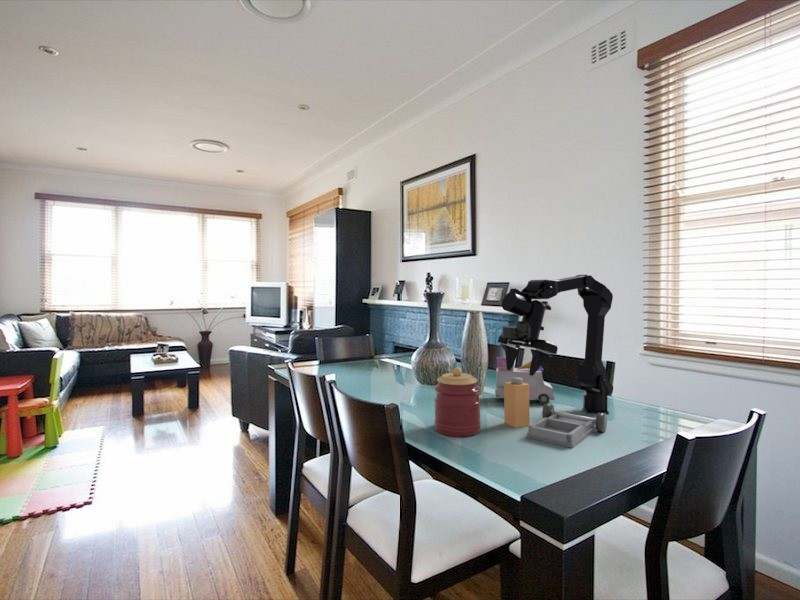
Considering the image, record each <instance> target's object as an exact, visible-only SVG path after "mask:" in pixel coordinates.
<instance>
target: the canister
mask: <svg viewBox="0 0 800 600" xmlns="http://www.w3.org/2000/svg"><path fill="white" fill-rule="evenodd" d="M436 380H437V382H438V383H437V384H436V385H435V386H434V388H433V390H434V391H435V397H434V399H433V401H434V421H433V422H434V428H435V431H436V432H437V433H439V434H442V435H443V436H450V437H456V438H457V437H470V436H474V435H477V434H478V433H480V431H481V425H482V424H481V423H482V422H481V401H482V400H481V399H480V392H481V390H482V388H481V387H480V386H479V385H477V383H478V378H476V377H474V376H473V374H470V373H465V372H463V371H462V368H461V367H459V366H457V367H454V368H453V369H452V372H449V373H448V372H447V373H443V374H442V375H441V376H439V377H438V378H437V379H436Z"/></svg>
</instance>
